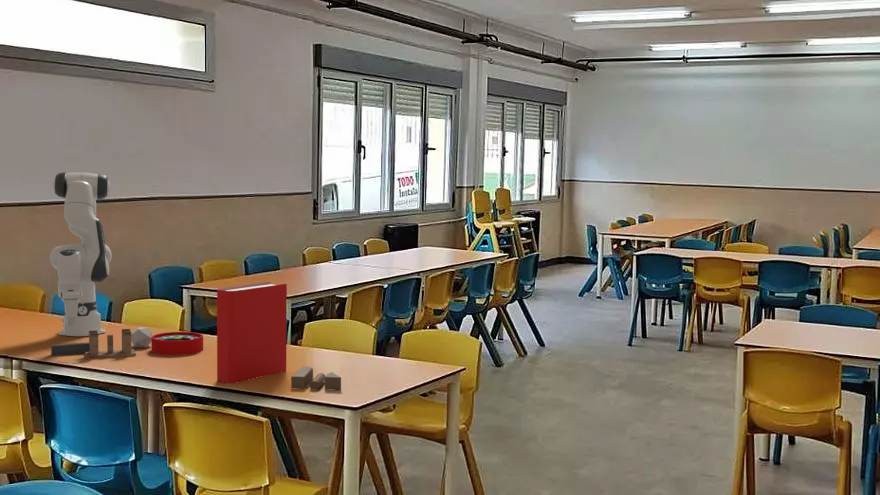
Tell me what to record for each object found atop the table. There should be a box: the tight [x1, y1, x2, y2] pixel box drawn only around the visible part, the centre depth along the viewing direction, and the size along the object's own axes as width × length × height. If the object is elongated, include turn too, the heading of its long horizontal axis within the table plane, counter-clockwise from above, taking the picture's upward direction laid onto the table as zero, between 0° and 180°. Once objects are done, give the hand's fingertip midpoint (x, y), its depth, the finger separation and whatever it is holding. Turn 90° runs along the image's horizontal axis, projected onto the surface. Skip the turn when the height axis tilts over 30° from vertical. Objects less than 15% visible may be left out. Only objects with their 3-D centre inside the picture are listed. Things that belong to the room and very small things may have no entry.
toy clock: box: [151, 331, 204, 356], centre depth 376 cm, size 20×6×20 cm
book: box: [216, 281, 288, 384], centre depth 332 cm, size 27×8×32 cm, turn 147°
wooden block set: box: [290, 365, 342, 391], centre depth 323 cm, size 17×6×18 cm
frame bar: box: [50, 341, 89, 356], centre depth 365 cm, size 2×14×4 cm, turn 117°
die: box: [131, 326, 153, 349], centre depth 381 cm, size 8×9×10 cm
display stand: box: [84, 328, 137, 360], centre depth 363 cm, size 8×18×10 cm, turn 113°
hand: (71, 327), depth 364 cm, fingers open, 8 cm apart
